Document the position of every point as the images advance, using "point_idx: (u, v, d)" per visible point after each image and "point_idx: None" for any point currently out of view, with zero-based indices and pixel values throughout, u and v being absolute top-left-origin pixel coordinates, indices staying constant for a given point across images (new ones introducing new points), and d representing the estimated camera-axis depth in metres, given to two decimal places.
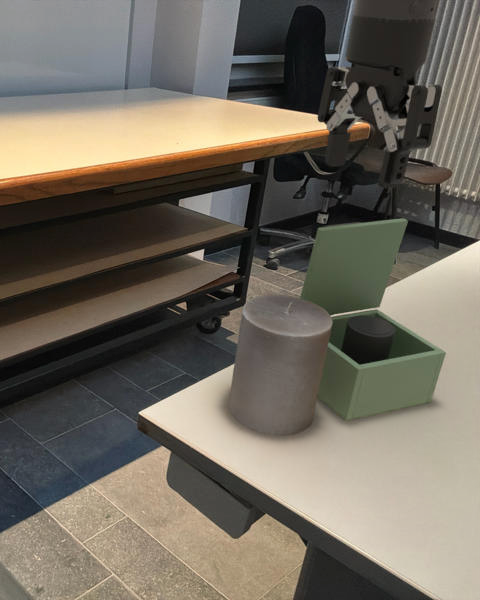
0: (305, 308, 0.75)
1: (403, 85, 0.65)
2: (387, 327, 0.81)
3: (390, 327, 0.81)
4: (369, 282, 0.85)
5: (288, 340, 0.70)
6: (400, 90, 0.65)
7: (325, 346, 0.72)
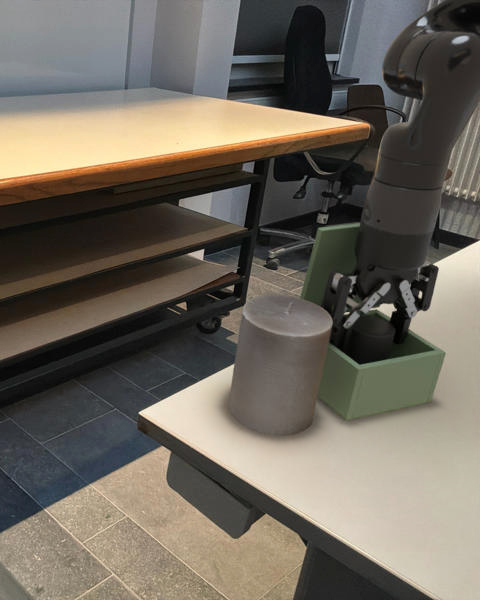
0: (305, 308, 0.75)
1: (352, 272, 0.77)
2: (387, 327, 0.81)
3: (390, 327, 0.81)
4: None
5: (288, 340, 0.70)
6: None
7: (325, 346, 0.72)
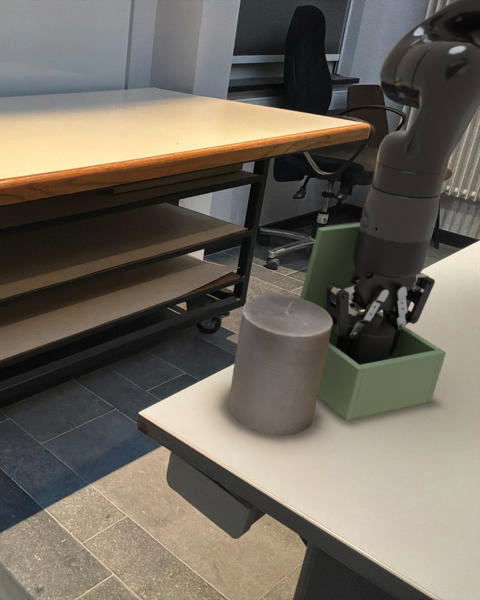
0: (305, 308, 0.75)
1: (349, 281, 0.78)
2: (386, 327, 0.81)
3: (390, 327, 0.81)
4: None
5: (288, 340, 0.70)
6: None
7: (325, 346, 0.72)
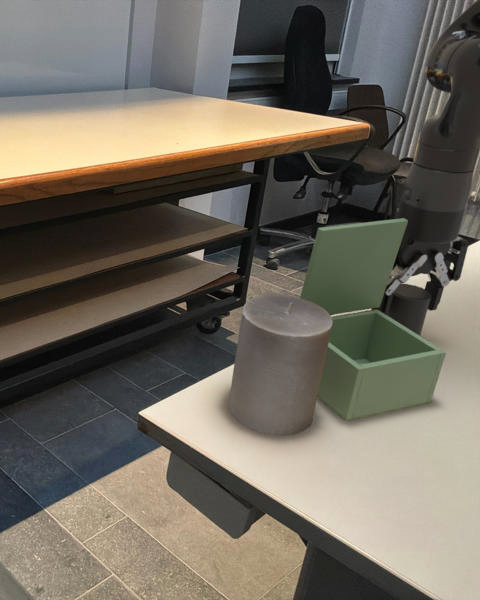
0: (305, 308, 0.75)
1: None
2: (423, 293, 0.92)
3: (426, 293, 0.92)
4: (369, 282, 0.85)
5: (288, 340, 0.70)
6: None
7: (325, 346, 0.72)
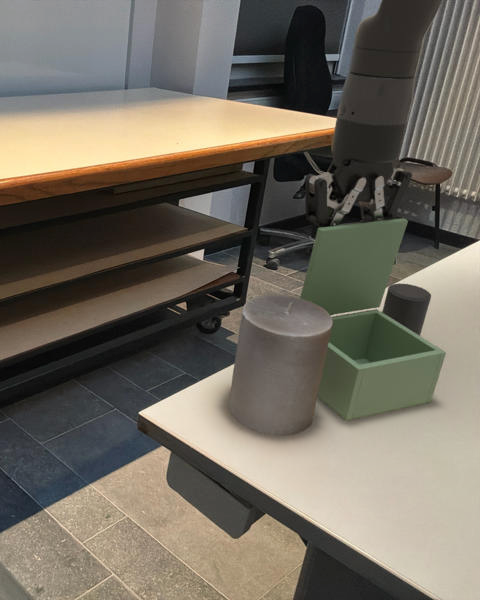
0: (305, 308, 0.75)
1: (327, 171, 0.79)
2: (423, 293, 0.92)
3: (426, 293, 0.92)
4: (369, 282, 0.85)
5: (288, 340, 0.70)
6: None
7: (325, 346, 0.72)
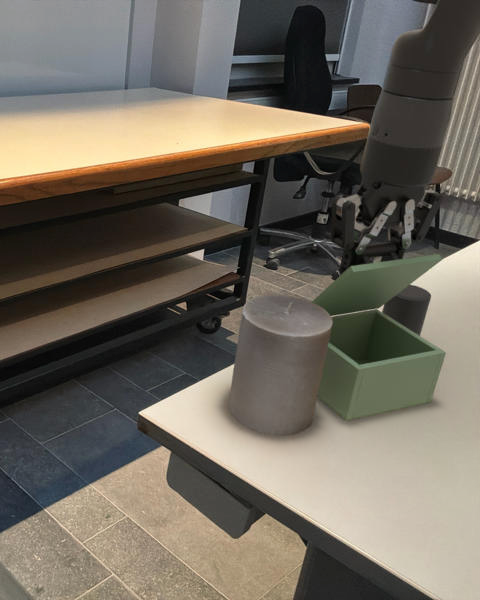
0: (305, 308, 0.75)
1: (355, 193, 0.75)
2: (423, 293, 0.92)
3: (426, 293, 0.92)
4: (379, 296, 0.84)
5: (288, 340, 0.70)
6: None
7: (325, 346, 0.72)
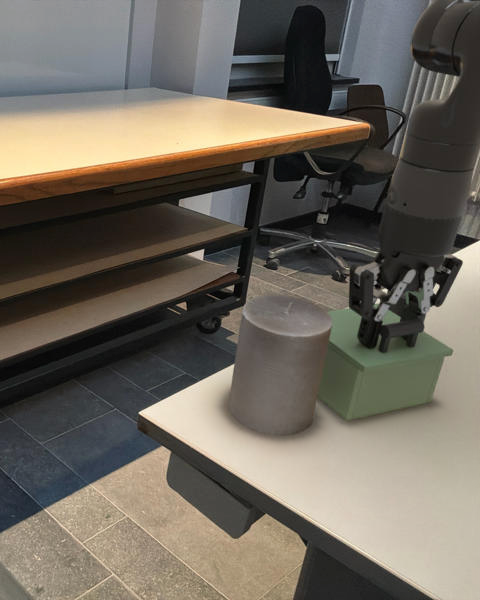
0: (305, 308, 0.75)
1: (373, 260, 0.74)
2: None
3: None
4: None
5: (288, 340, 0.70)
6: None
7: (325, 346, 0.72)
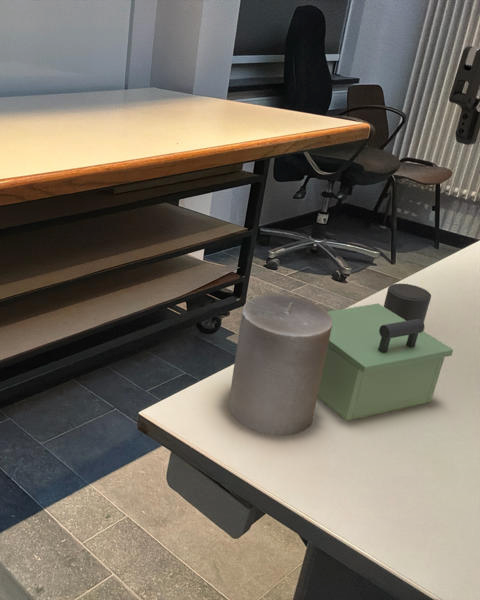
0: (305, 308, 0.75)
1: None
2: (423, 293, 0.92)
3: (426, 293, 0.92)
4: None
5: (288, 340, 0.70)
6: None
7: (325, 346, 0.72)
